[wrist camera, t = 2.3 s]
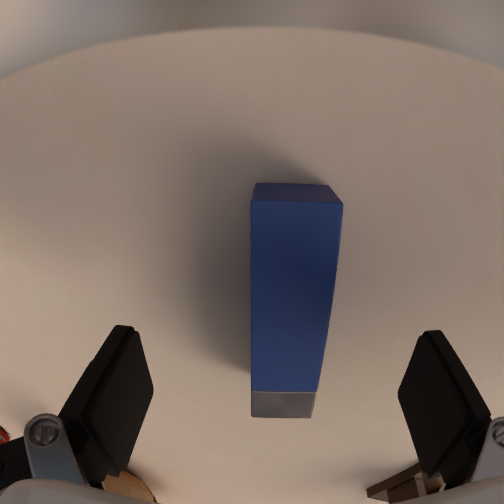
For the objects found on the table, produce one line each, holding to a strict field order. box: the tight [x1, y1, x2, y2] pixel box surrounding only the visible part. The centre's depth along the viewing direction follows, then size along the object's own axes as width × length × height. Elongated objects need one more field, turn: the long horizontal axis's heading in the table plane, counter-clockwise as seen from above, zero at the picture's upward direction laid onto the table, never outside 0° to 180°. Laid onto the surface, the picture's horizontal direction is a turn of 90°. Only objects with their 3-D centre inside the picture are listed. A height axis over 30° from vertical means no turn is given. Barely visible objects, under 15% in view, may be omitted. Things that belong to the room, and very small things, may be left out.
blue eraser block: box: [251, 183, 343, 418], centre depth 13 cm, size 10×3×3 cm, turn 0°
